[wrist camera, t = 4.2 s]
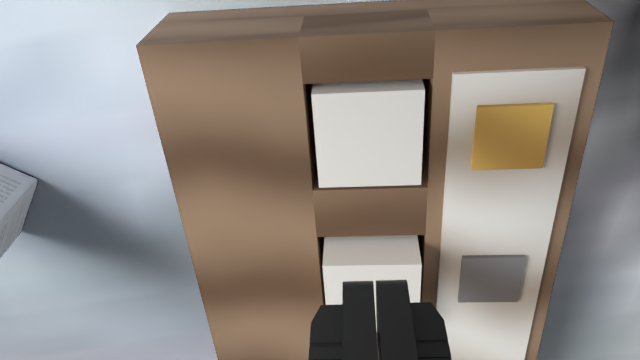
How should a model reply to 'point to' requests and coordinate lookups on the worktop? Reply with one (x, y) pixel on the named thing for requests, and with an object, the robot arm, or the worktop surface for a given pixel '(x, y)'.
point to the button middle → (370, 263)
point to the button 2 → (369, 132)
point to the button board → (377, 201)
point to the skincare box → (13, 204)
